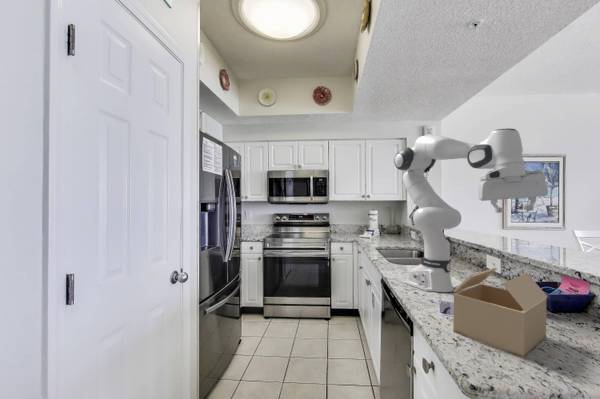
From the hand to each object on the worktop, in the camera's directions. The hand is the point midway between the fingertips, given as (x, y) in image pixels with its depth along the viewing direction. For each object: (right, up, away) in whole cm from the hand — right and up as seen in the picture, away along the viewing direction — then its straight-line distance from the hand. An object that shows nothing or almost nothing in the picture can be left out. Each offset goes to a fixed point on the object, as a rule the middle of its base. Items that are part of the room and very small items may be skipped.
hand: (514, 211), depth 97 cm
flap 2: (-10, -23, -16) cm, 29 cm away
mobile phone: (-18, -39, +9) cm, 43 cm away
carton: (-13, -38, -11) cm, 42 cm away
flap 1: (-17, -23, -6) cm, 29 cm away
